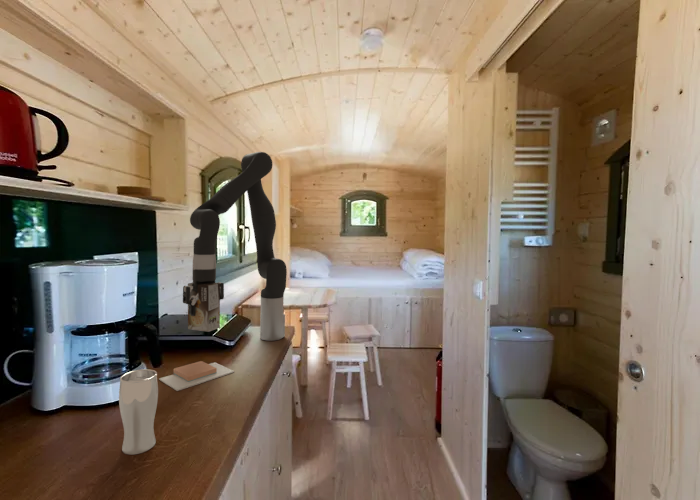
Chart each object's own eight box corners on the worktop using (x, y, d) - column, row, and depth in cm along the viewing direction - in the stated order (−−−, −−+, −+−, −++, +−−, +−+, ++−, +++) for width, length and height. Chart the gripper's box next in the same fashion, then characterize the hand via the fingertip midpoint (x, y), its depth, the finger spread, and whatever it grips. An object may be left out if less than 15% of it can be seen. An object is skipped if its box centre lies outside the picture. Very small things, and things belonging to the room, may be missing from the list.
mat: (215, 363, 122) (215, 362, 122) (234, 372, 115) (234, 371, 115) (159, 379, 108) (159, 378, 108) (177, 391, 101) (177, 389, 101)
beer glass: (149, 432, 81) (149, 366, 80) (164, 445, 76) (163, 375, 75) (114, 446, 75) (113, 375, 74) (127, 460, 71) (126, 385, 70)
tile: (201, 360, 118) (216, 368, 113) (201, 365, 119) (216, 372, 113) (173, 368, 111) (188, 376, 106) (173, 373, 112) (188, 381, 106)
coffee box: (220, 327, 129) (221, 282, 128) (208, 332, 123) (209, 285, 122) (199, 324, 132) (199, 280, 131) (186, 329, 126) (186, 283, 125)
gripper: (217, 265, 134) (216, 309, 135) (178, 267, 123) (178, 315, 124) (228, 267, 130) (228, 312, 130) (189, 269, 118) (189, 319, 119)
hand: (203, 313), depth 127 cm, fingers closed on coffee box, 7 cm apart
